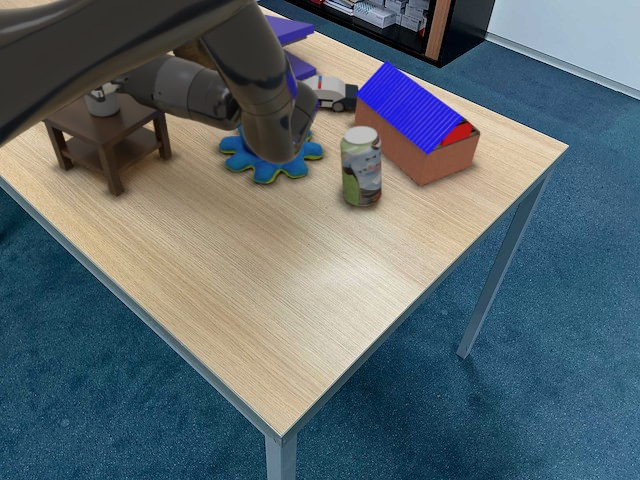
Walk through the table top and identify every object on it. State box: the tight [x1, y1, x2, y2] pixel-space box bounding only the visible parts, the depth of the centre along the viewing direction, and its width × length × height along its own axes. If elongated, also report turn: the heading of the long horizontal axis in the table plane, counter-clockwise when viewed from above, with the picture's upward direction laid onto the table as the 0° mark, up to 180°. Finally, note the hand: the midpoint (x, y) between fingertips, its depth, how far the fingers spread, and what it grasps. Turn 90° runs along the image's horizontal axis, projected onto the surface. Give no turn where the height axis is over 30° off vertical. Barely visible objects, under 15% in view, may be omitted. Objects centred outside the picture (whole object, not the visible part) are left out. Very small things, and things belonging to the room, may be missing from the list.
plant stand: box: [41, 93, 173, 197], centre depth 86 cm, size 13×13×10 cm
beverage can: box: [339, 126, 383, 207], centre depth 83 cm, size 6×7×12 cm
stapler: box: [264, 14, 318, 81], centre depth 114 cm, size 12×28×10 cm, turn 43°
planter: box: [85, 92, 120, 117], centre depth 79 cm, size 4×4×10 cm
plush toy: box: [218, 125, 324, 184], centre depth 91 cm, size 17×17×8 cm
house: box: [353, 60, 482, 187], centre depth 93 cm, size 12×20×12 cm, turn 32°
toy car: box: [301, 74, 360, 113], centre depth 104 cm, size 5×16×5 cm, turn 88°
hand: (76, 54), depth 77 cm, fingers closed on planter, 4 cm apart
